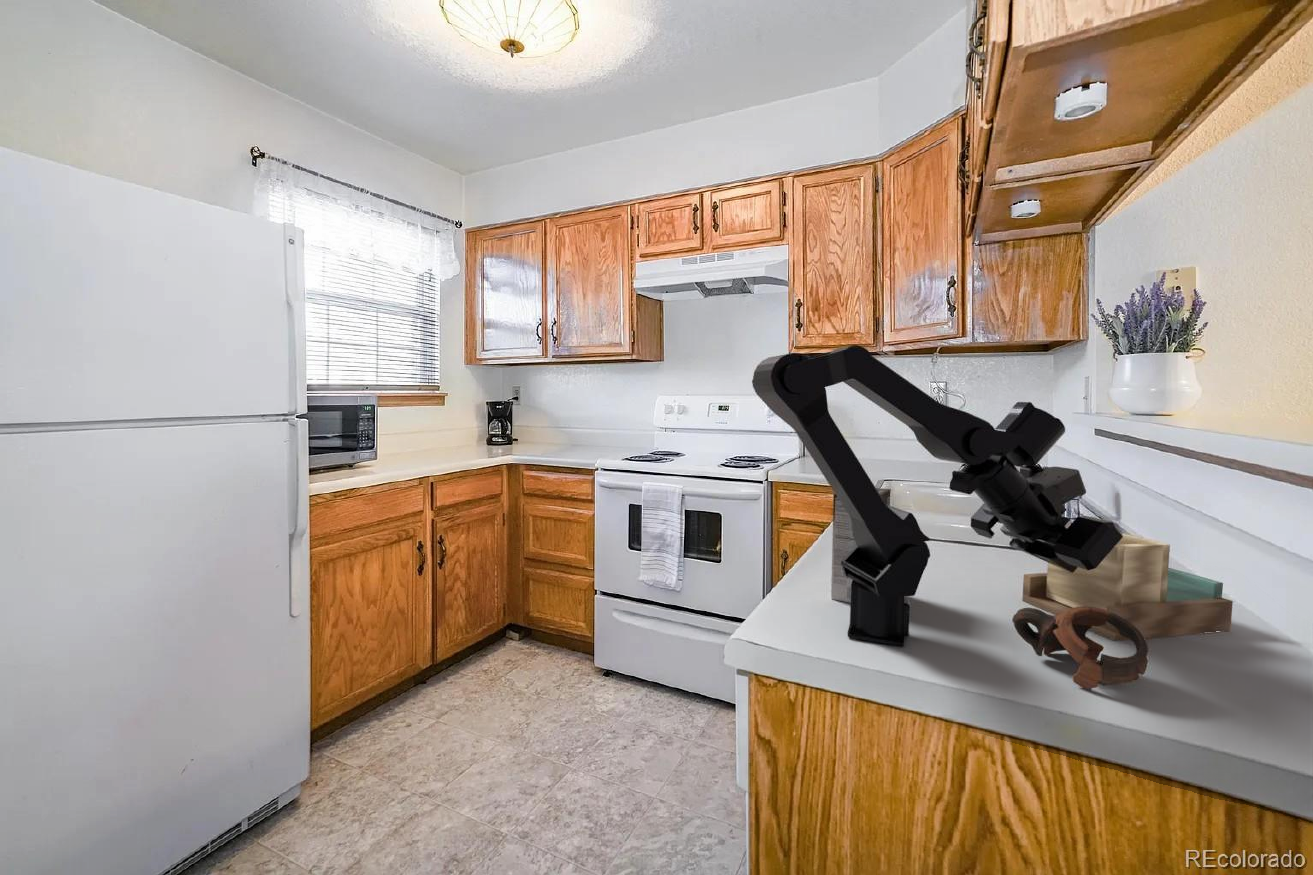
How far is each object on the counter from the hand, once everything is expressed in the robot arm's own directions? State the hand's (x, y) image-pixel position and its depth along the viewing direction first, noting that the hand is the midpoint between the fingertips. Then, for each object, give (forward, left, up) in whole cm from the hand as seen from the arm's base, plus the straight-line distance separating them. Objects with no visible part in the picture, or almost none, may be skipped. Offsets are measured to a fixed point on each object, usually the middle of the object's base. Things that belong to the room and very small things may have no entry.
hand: (1072, 569), depth 76 cm
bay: (+6, +4, -7) cm, 10 cm away
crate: (+4, +3, -6) cm, 8 cm away
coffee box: (-27, -2, -7) cm, 28 cm away
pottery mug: (-3, -17, -7) cm, 19 cm away
